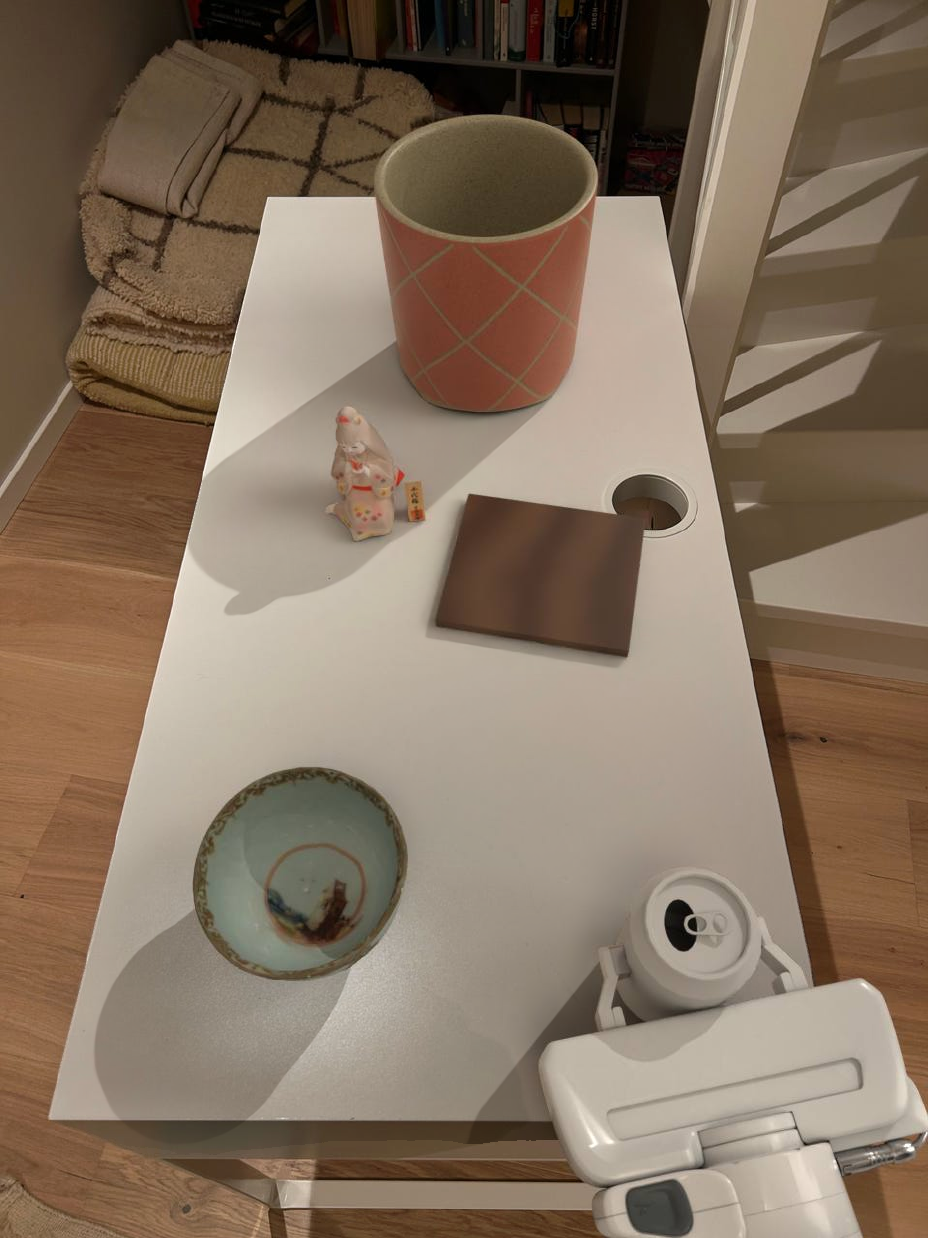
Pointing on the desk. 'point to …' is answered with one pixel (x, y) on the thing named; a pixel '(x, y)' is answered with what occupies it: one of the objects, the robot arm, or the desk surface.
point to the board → (544, 574)
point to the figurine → (368, 479)
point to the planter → (486, 257)
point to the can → (687, 944)
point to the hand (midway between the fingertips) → (678, 933)
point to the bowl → (300, 874)
